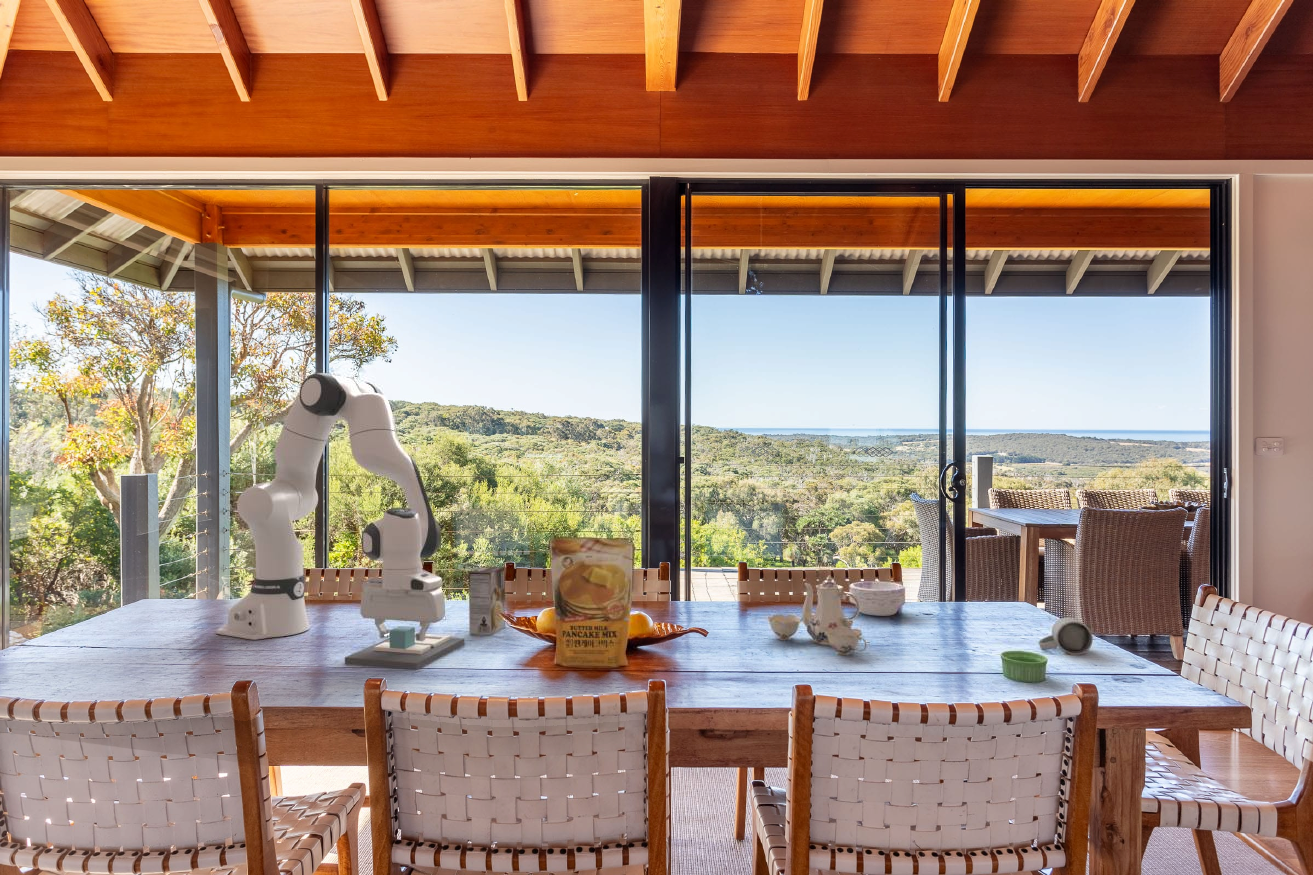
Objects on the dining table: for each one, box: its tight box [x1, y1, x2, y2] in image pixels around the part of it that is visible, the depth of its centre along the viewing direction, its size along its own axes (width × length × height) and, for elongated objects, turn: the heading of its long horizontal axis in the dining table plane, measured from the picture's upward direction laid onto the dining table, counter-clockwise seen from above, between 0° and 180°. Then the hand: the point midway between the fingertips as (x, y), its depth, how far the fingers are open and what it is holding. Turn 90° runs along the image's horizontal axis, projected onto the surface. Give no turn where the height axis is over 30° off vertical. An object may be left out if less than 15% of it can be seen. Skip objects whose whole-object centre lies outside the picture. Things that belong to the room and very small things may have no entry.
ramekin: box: [1000, 650, 1049, 684], centre depth 165 cm, size 9×9×4 cm
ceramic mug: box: [1038, 617, 1094, 656], centre depth 185 cm, size 11×8×8 cm
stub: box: [374, 625, 431, 654], centre depth 181 cm, size 12×4×5 cm, turn 75°
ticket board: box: [344, 632, 466, 671], centre depth 183 cm, size 18×21×2 cm
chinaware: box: [766, 575, 867, 656], centre depth 192 cm, size 28×17×17 cm, turn 47°
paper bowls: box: [849, 581, 906, 617], centre depth 224 cm, size 15×15×8 cm
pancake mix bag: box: [548, 536, 636, 669], centre depth 175 cm, size 7×19×28 cm, turn 85°
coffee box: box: [468, 565, 506, 636], centre depth 205 cm, size 9×6×16 cm
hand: (402, 639), depth 181 cm, fingers open, 8 cm apart
